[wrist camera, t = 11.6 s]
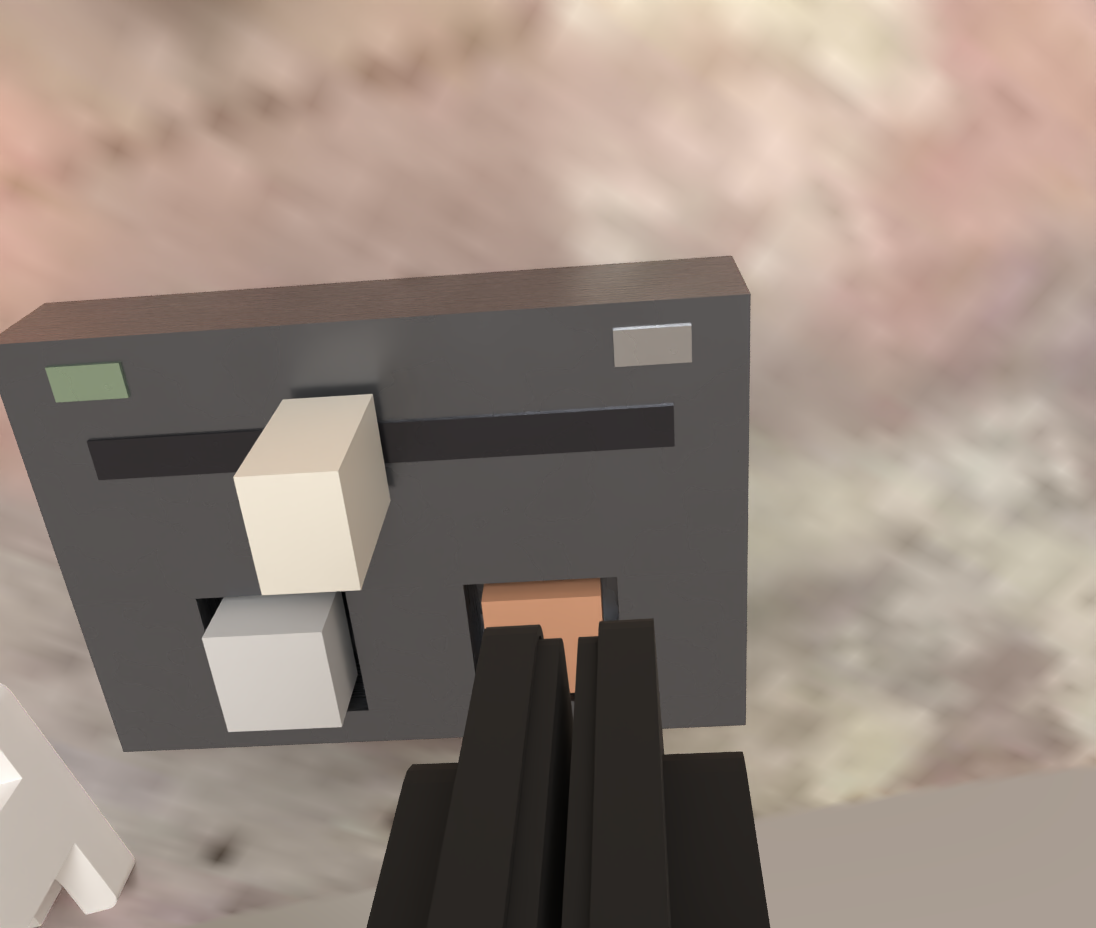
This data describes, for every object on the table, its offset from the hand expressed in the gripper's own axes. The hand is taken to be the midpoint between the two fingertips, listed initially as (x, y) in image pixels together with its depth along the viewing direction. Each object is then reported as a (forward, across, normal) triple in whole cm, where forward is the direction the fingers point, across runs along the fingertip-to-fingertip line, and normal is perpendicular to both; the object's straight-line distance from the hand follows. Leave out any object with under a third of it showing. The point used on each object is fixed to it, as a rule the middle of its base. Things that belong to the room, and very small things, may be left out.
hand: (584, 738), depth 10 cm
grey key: (+18, +11, +11) cm, 24 cm away
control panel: (+20, +7, +8) cm, 23 cm away
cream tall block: (+17, +8, +4) cm, 19 cm away
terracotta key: (+19, +3, +12) cm, 23 cm away
